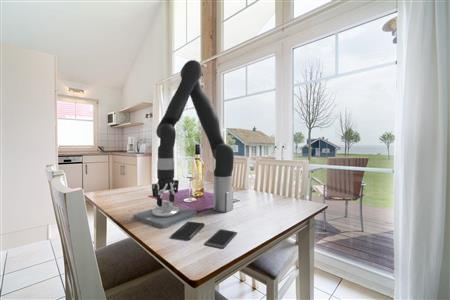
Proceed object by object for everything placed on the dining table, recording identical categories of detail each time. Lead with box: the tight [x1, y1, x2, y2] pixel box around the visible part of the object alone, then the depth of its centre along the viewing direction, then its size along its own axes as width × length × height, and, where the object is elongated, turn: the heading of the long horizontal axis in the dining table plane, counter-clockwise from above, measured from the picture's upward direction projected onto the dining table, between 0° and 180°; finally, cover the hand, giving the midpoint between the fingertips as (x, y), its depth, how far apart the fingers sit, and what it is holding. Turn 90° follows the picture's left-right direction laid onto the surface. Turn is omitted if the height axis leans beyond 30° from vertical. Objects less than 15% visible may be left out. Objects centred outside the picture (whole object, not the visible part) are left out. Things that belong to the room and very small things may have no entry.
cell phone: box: [203, 228, 238, 250], centre depth 78 cm, size 7×14×1 cm, turn 157°
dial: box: [151, 198, 179, 218], centre depth 101 cm, size 16×12×6 cm
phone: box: [170, 221, 206, 242], centre depth 84 cm, size 8×1×15 cm
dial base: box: [132, 205, 198, 229], centre depth 100 cm, size 20×20×2 cm
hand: (165, 204), depth 100 cm, fingers open, 6 cm apart
